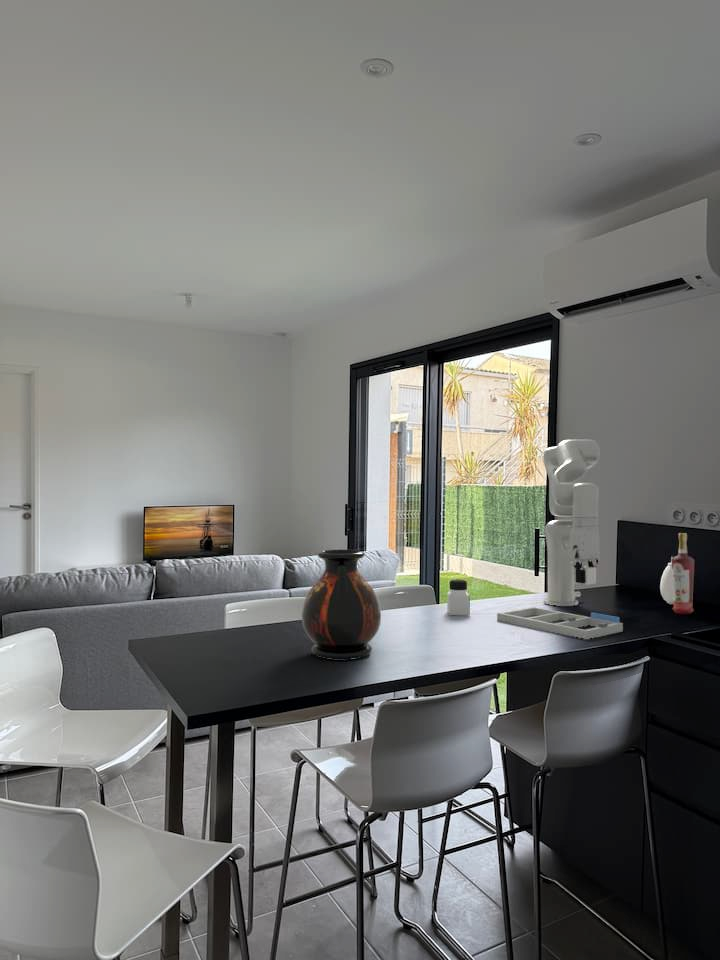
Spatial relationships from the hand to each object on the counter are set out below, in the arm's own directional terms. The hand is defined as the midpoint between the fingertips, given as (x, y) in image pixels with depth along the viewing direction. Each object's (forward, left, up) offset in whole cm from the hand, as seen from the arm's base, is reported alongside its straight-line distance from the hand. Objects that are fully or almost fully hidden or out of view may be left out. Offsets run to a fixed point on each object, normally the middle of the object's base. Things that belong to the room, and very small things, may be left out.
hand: (585, 581), depth 218 cm
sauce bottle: (-65, -9, -16) cm, 67 cm away
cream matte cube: (0, 0, -1) cm, 1 cm away
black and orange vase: (+76, -24, -16) cm, 81 cm away
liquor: (-51, +3, -16) cm, 54 cm away
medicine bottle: (+11, -45, -16) cm, 49 cm away
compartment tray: (0, -11, -16) cm, 19 cm away
